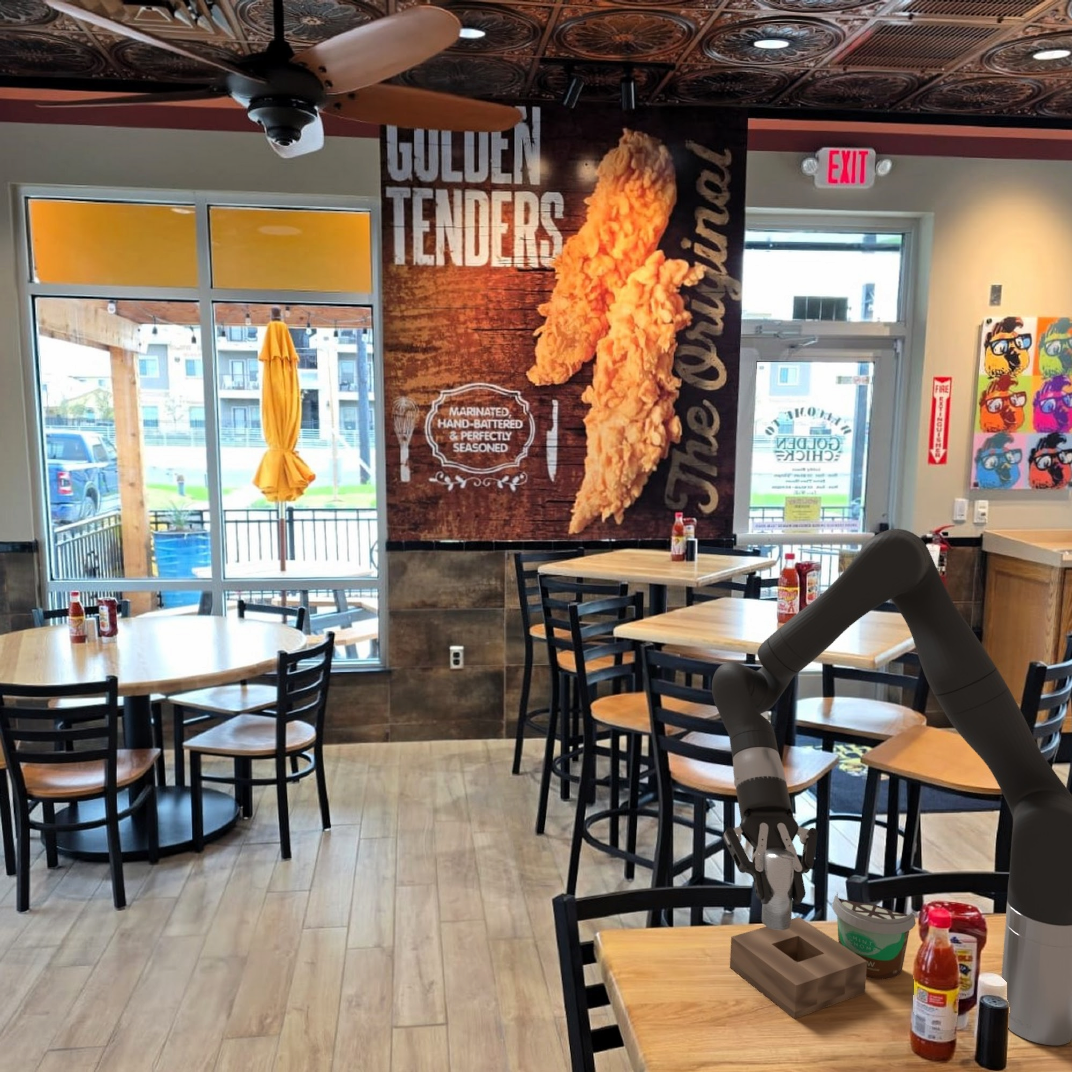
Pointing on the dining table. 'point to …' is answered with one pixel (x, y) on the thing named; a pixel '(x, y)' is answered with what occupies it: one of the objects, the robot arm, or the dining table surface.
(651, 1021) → the dining table surface
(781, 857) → the steel pin
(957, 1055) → the dining table surface
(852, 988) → the socket block
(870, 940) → the food container
